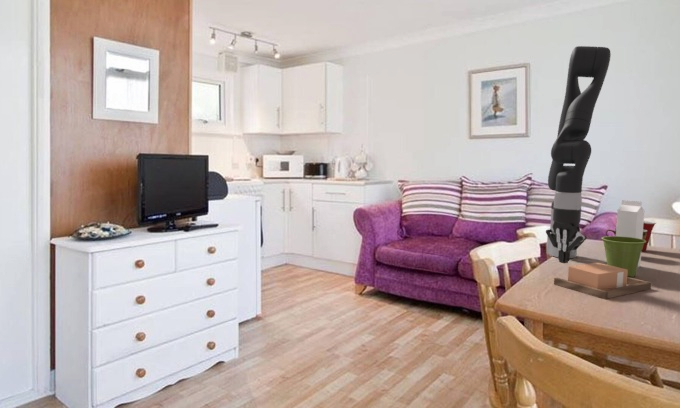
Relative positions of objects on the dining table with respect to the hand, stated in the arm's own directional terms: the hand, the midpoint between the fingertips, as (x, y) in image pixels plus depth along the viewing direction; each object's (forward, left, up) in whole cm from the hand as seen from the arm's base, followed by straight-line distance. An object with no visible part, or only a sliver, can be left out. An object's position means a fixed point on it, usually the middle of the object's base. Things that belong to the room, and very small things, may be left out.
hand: (563, 262), depth 140 cm
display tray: (+12, 0, -4) cm, 12 cm away
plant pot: (+7, +18, -5) cm, 20 cm away
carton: (+13, -3, -5) cm, 14 cm away
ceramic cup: (-9, +46, -5) cm, 47 cm away
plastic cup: (-13, +61, -5) cm, 63 cm away
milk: (+1, +31, -5) cm, 31 cm away
